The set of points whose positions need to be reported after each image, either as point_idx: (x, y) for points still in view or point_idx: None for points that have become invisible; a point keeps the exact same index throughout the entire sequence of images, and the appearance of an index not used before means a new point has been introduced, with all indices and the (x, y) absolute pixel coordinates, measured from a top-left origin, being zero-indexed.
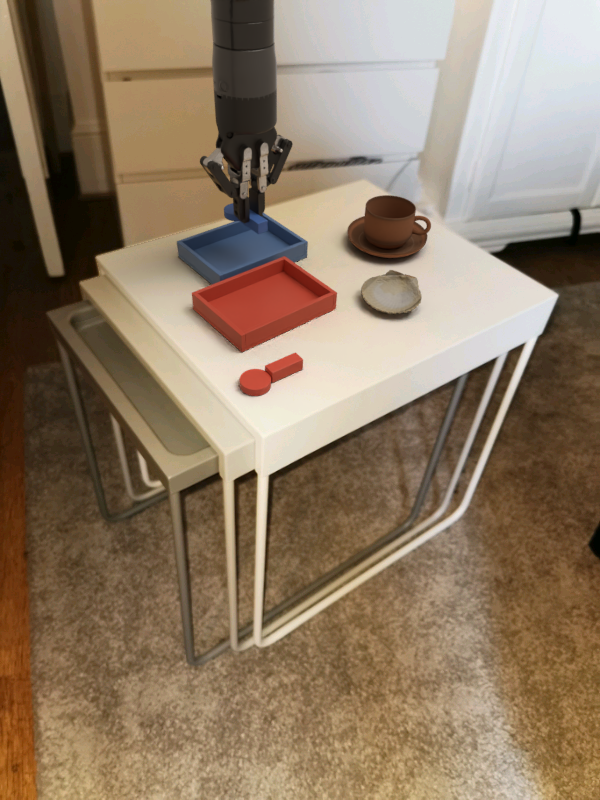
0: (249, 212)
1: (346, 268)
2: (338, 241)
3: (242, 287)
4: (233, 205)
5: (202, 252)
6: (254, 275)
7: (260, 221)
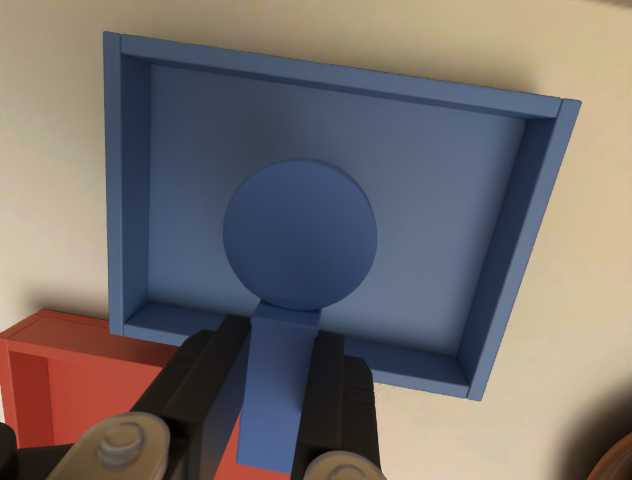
0: (233, 427)
1: (486, 467)
2: (619, 374)
3: None
4: (160, 373)
5: (211, 109)
6: None
7: (259, 459)
